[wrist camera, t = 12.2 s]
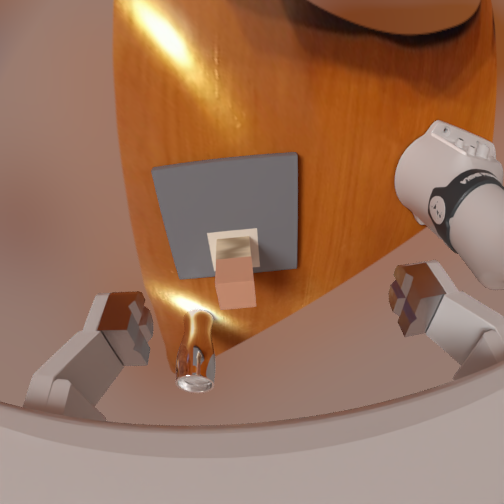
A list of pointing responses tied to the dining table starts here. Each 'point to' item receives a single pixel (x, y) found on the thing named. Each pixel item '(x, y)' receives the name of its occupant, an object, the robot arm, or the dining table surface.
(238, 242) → the maple block
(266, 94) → the dining table surface
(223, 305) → the terracotta block
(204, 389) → the beer glass
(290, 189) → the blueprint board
